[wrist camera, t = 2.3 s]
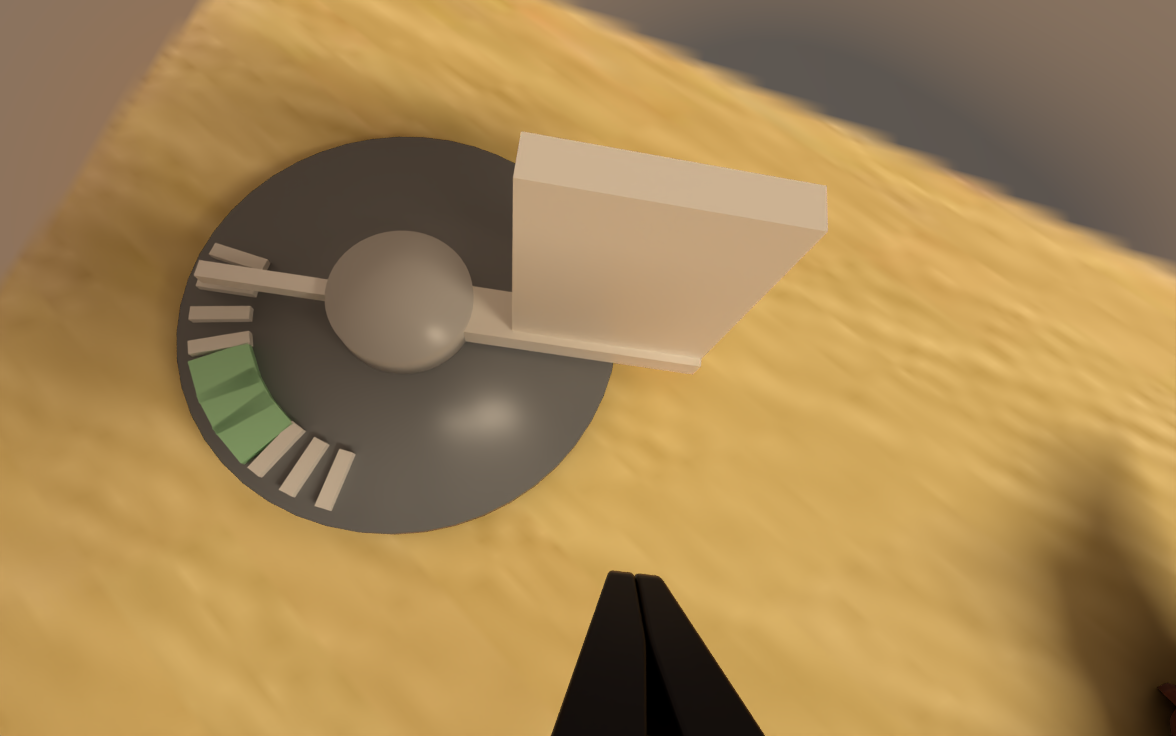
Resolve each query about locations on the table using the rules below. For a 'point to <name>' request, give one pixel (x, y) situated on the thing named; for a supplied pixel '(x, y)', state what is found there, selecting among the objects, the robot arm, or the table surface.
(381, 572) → the table surface
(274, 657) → the table surface
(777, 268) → the rotary selector knob
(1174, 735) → the maroon gnome figurine
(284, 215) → the tuner dial
